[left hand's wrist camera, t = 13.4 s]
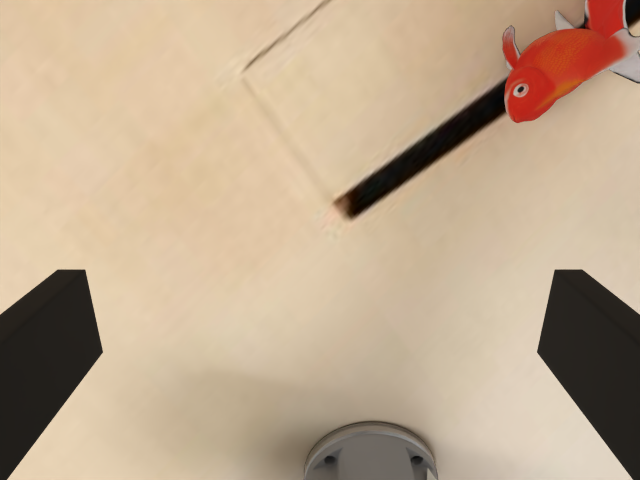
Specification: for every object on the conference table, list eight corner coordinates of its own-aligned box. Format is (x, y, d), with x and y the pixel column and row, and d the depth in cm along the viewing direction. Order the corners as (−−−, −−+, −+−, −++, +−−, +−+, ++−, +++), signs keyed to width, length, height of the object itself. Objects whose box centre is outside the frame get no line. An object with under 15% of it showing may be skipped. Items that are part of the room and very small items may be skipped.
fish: (439, 2, 30) (583, -1, 22) (585, -100, 33) (753, -133, 26) (466, 135, 37) (584, 167, 29) (586, 38, 40) (720, 45, 32)
